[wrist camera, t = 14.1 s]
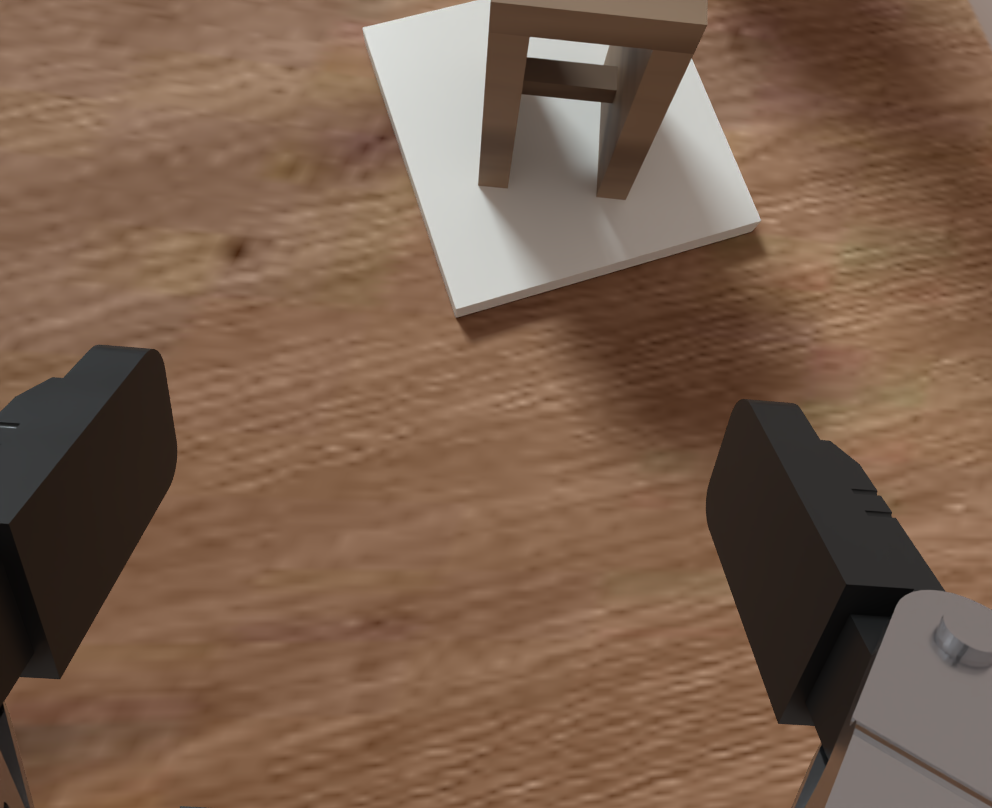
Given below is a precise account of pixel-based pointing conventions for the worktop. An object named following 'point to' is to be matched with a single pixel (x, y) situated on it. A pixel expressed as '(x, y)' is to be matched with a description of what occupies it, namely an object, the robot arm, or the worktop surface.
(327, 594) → the worktop surface
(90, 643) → the worktop surface
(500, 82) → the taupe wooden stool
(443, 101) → the off-white board
